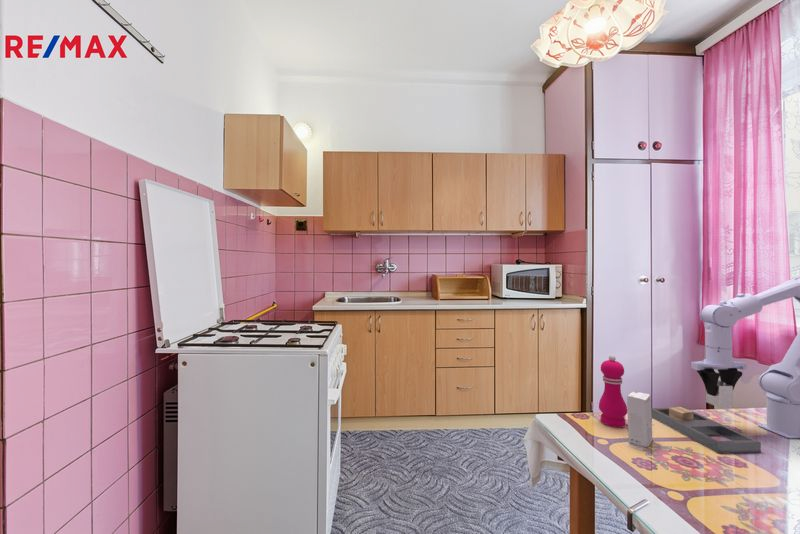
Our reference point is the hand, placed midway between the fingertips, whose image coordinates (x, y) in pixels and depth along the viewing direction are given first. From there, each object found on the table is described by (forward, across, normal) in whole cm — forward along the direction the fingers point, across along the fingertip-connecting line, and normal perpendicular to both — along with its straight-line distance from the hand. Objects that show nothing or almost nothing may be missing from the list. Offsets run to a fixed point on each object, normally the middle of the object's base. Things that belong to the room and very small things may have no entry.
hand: (719, 394), depth 100 cm
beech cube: (+10, +8, -4) cm, 13 cm away
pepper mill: (+10, +28, -4) cm, 30 cm away
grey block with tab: (+3, 0, 0) cm, 3 cm away
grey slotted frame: (+9, +8, +2) cm, 13 cm away
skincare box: (+10, +28, +7) cm, 31 cm away
